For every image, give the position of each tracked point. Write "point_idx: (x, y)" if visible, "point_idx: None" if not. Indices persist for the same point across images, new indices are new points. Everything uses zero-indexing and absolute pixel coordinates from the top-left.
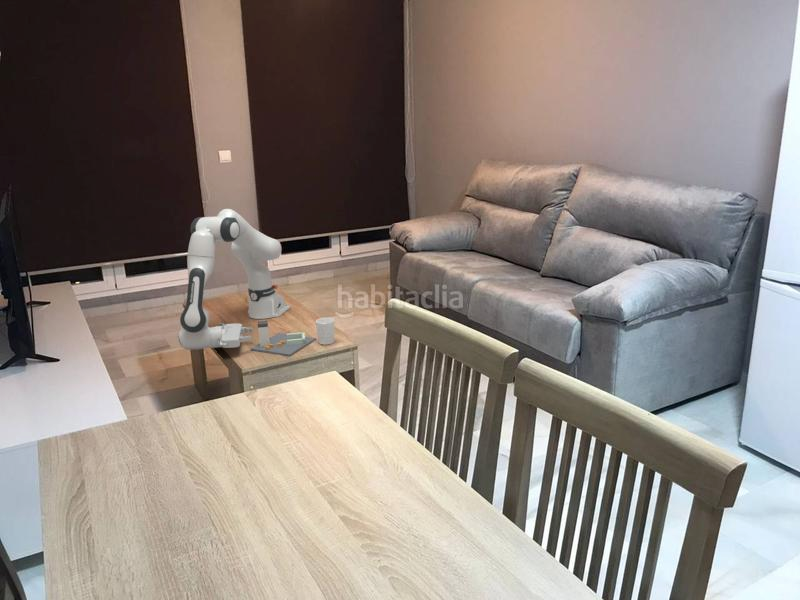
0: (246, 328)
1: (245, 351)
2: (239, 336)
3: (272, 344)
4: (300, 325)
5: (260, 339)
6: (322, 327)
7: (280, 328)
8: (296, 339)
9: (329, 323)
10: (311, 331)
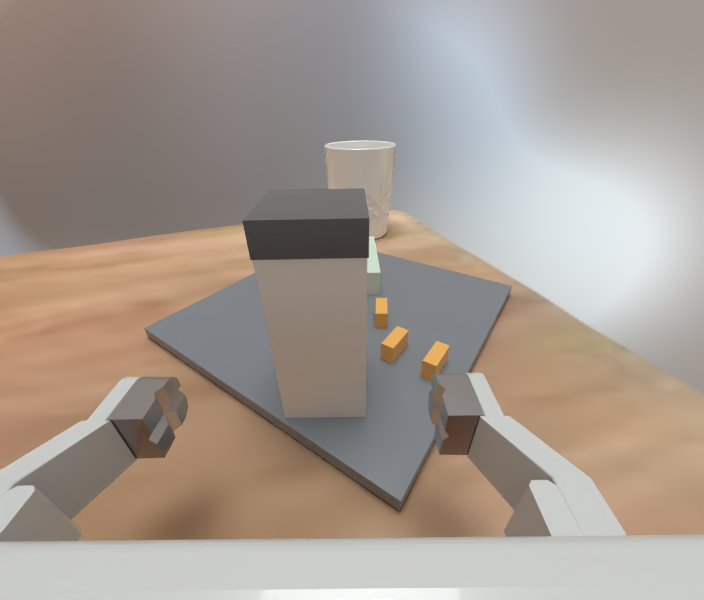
0: (76, 448)
1: None
2: (612, 536)
3: (396, 330)
4: (106, 274)
5: (365, 362)
6: (393, 163)
7: (44, 333)
8: (370, 251)
9: (390, 144)
10: (221, 253)
